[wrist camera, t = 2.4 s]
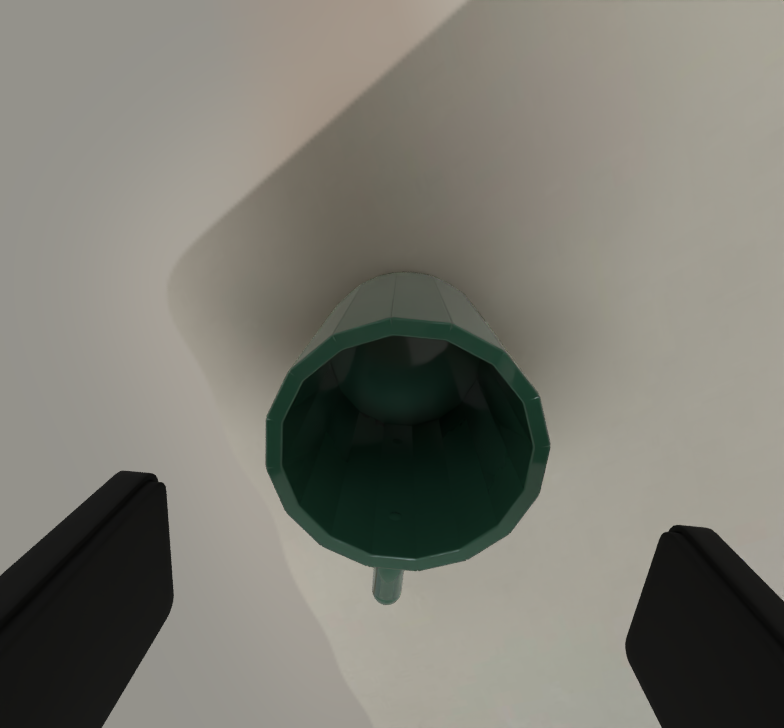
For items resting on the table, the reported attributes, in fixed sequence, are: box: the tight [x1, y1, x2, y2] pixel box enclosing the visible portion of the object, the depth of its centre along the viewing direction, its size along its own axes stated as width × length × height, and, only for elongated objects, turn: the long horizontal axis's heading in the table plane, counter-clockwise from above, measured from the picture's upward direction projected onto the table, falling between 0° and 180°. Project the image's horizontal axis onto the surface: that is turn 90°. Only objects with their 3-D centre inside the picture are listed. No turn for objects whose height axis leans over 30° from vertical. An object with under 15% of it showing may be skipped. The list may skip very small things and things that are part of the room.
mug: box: [266, 272, 550, 605], centre depth 16 cm, size 10×7×9 cm
